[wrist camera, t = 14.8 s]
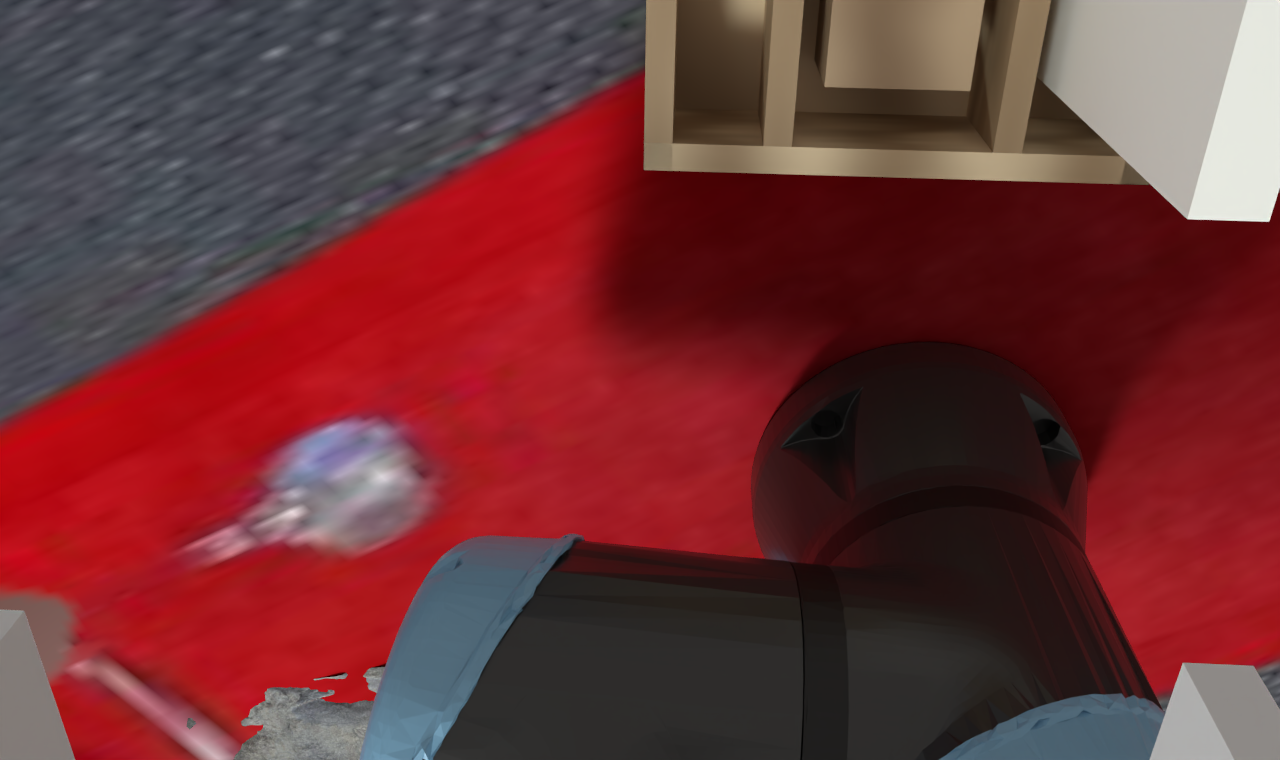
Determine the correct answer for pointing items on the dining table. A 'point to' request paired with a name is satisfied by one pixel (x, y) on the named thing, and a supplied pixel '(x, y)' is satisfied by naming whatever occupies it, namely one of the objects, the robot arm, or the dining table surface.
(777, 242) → the dining table surface
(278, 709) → the stone slab
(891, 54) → the upper offcut
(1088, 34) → the tall sheet
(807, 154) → the rack
